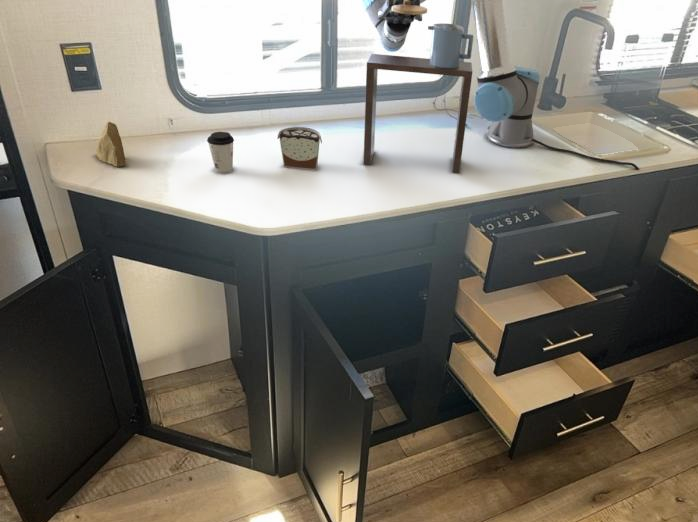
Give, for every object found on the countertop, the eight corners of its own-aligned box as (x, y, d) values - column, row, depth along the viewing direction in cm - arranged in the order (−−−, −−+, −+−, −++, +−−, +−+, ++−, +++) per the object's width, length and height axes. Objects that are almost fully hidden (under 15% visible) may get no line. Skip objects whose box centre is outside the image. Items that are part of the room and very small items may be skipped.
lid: (419, 2, 167) (420, -4, 167) (429, 15, 152) (429, 8, 151) (387, 1, 166) (387, -6, 165) (393, 13, 151) (393, 6, 150)
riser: (459, 160, 183) (471, 62, 166) (459, 173, 174) (472, 71, 158) (367, 151, 183) (371, 53, 167) (363, 164, 175) (366, 62, 159)
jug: (469, 63, 166) (474, 25, 160) (469, 70, 159) (474, 31, 154) (425, 59, 166) (429, 21, 160) (424, 66, 159) (427, 27, 154)
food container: (326, 162, 174) (325, 128, 169) (321, 170, 169) (321, 136, 164) (284, 158, 175) (282, 124, 169) (278, 166, 170) (276, 131, 164)
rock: (134, 159, 162) (135, 141, 169) (108, 136, 156) (110, 118, 163) (105, 182, 164) (107, 163, 171) (78, 160, 158) (81, 142, 165)
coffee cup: (214, 176, 161) (209, 140, 156) (208, 167, 166) (203, 131, 161) (239, 173, 164) (236, 137, 159) (233, 163, 169) (229, 129, 164)
